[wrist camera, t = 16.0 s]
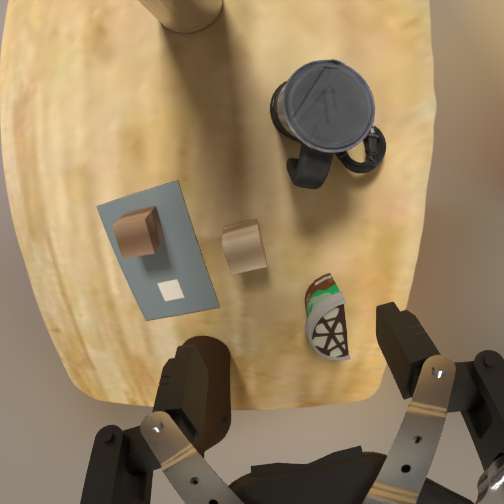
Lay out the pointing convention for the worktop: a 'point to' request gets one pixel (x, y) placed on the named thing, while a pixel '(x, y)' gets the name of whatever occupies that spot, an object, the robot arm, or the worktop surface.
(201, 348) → the olive oil
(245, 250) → the maple block
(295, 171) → the milk frother
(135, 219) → the walnut block
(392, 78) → the worktop surface
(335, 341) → the food container
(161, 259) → the mat
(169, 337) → the worktop surface
